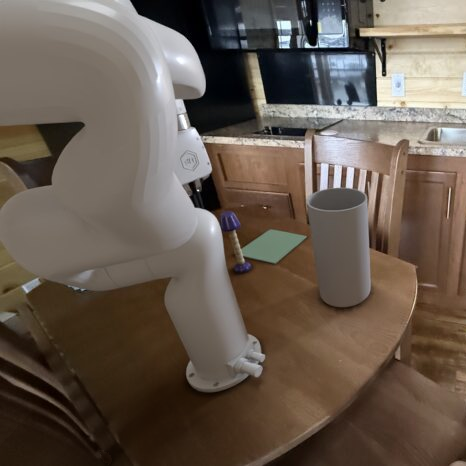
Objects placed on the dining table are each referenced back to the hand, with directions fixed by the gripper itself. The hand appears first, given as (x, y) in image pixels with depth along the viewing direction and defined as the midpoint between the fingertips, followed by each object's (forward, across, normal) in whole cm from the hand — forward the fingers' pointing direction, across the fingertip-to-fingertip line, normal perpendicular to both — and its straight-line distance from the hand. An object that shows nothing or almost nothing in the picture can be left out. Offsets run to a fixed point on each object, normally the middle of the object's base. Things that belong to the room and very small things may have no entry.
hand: (196, 209), depth 70 cm
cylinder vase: (+21, +8, -31) cm, 38 cm away
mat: (+21, +20, 0) cm, 29 cm away
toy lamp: (+21, +7, 0) cm, 22 cm away
